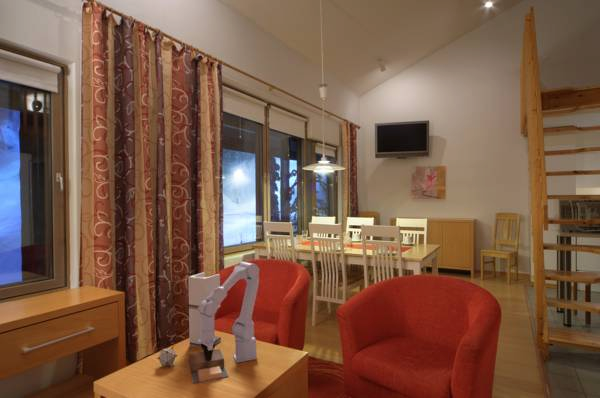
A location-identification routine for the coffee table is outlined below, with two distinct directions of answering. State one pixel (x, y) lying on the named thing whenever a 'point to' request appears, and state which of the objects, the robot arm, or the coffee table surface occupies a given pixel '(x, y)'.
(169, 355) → the grey spiky polyhedron
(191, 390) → the coffee table surface
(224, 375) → the mat
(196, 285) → the tall white column
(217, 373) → the tan rectangular brick
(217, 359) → the brown flat block
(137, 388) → the coffee table surface
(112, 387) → the coffee table surface
